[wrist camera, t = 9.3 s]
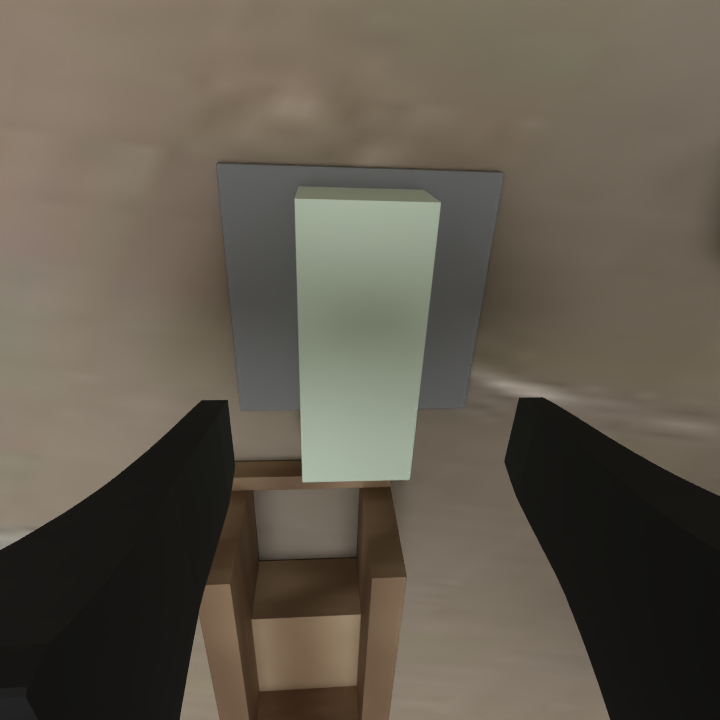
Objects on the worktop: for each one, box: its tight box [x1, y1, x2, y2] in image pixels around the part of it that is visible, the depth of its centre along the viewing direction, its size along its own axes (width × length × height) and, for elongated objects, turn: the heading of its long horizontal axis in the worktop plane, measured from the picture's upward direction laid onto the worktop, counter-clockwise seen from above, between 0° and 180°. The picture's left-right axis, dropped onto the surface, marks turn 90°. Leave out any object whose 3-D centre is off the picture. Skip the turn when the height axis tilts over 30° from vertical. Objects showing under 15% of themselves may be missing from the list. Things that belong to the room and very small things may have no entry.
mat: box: [216, 162, 504, 411], centre depth 17 cm, size 9×9×1 cm
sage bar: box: [295, 186, 441, 482], centre depth 16 cm, size 4×10×2 cm, turn 178°
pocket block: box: [199, 461, 407, 720], centre depth 21 cm, size 7×13×5 cm, turn 178°
